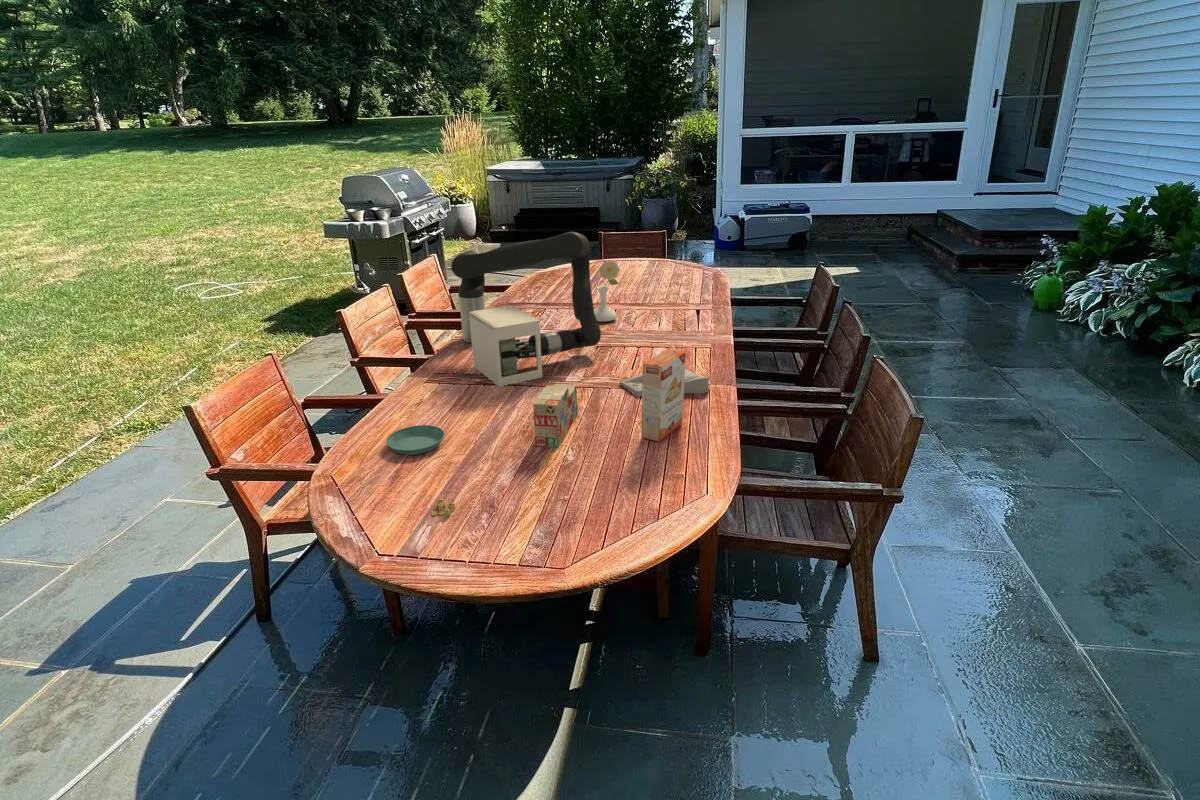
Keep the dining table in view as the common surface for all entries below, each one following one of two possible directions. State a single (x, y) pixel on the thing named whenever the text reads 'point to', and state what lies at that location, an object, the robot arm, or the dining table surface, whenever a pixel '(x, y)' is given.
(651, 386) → the cracker box
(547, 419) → the stack of blocks
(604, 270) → the flower in vase
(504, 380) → the cubby
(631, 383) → the ramp
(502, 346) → the sage block
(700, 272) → the dining table surface
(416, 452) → the saucer
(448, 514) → the dice set
